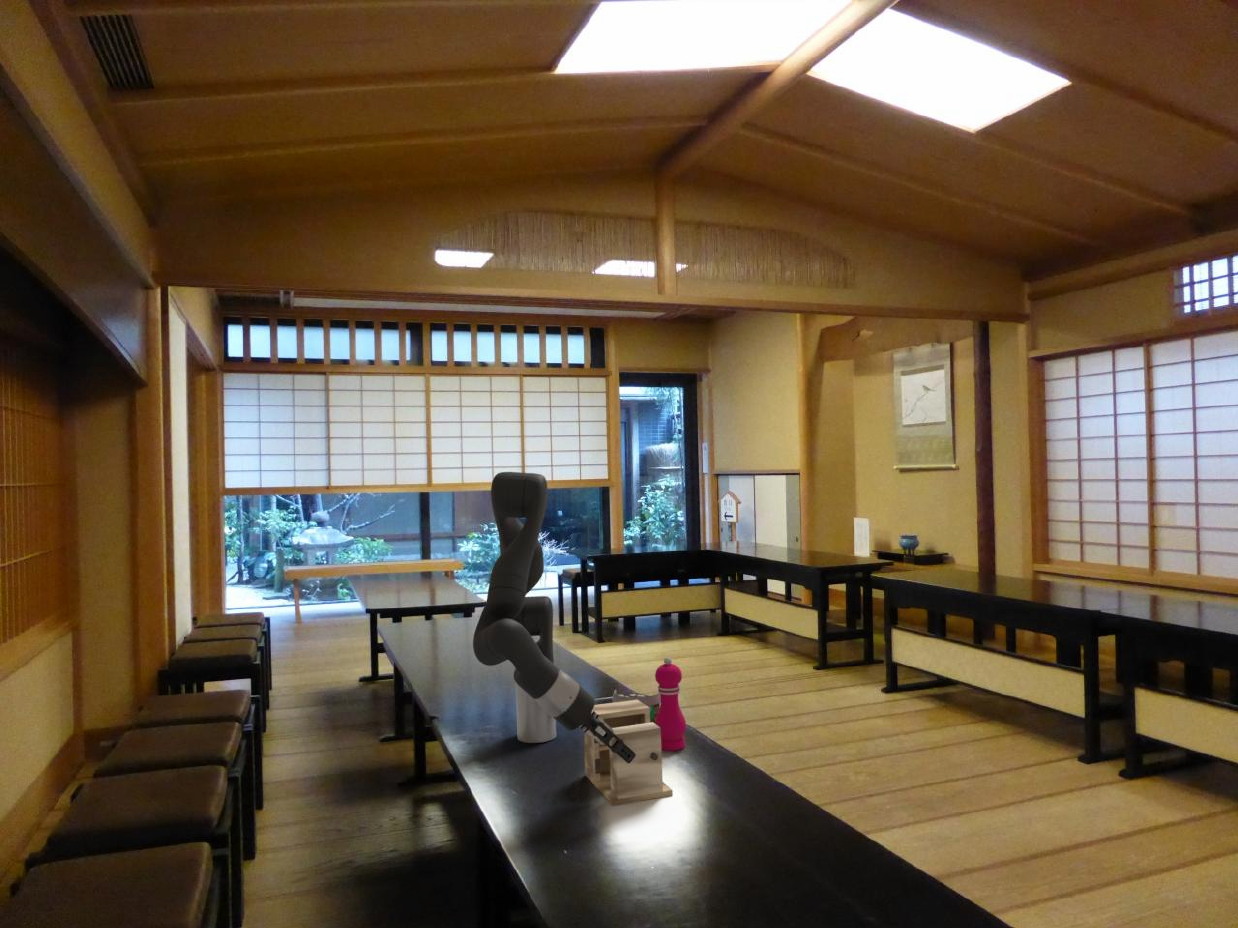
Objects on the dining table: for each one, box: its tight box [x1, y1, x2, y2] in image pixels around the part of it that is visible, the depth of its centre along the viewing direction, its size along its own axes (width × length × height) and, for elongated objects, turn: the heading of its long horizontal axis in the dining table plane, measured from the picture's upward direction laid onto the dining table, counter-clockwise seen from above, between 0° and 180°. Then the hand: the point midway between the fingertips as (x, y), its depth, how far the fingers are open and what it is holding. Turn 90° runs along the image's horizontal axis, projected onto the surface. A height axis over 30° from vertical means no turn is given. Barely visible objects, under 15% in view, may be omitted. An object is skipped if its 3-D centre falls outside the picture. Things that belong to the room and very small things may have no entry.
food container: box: [612, 689, 661, 724], centre depth 194 cm, size 12×6×10 cm, turn 68°
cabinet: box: [583, 700, 673, 807], centre depth 164 cm, size 18×12×14 cm
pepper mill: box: [654, 656, 687, 752], centre depth 186 cm, size 7×7×20 cm
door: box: [609, 722, 664, 799], centre depth 157 cm, size 5×9×12 cm, turn 110°
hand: (624, 752), depth 157 cm, fingers open, 8 cm apart
